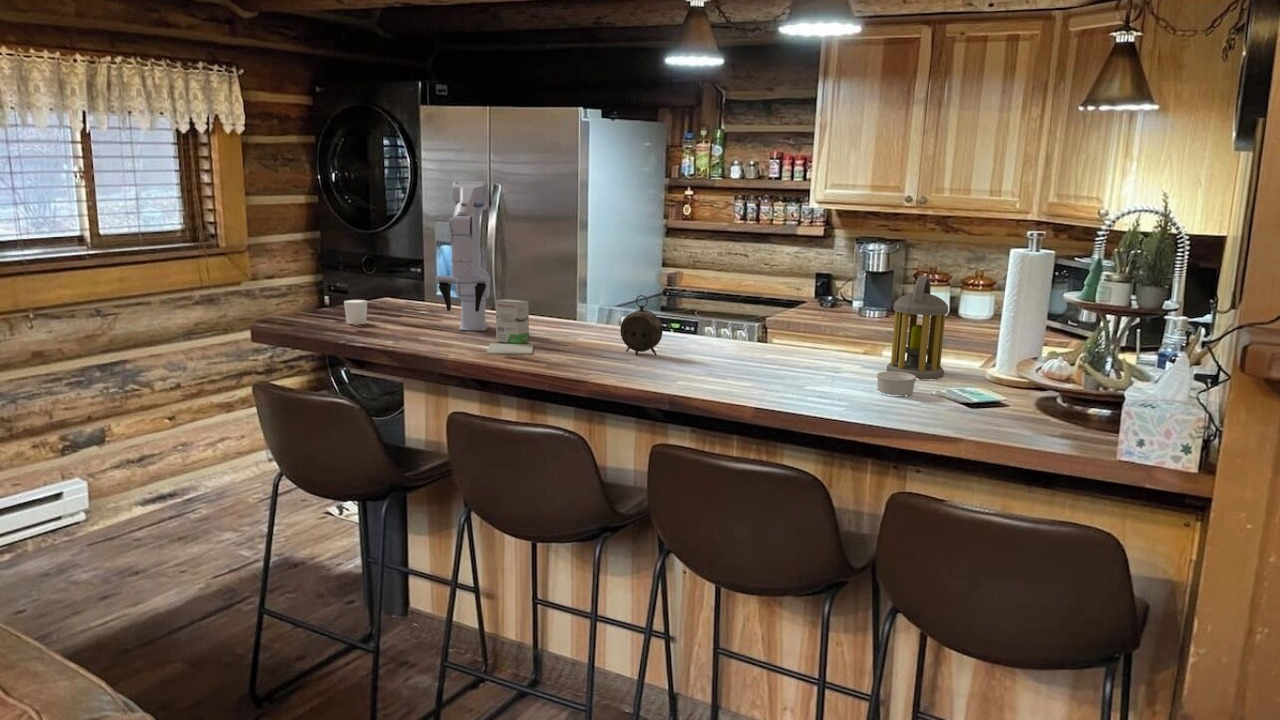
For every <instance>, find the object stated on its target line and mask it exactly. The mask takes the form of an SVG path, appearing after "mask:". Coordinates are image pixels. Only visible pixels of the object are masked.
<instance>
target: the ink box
mask: <svg viewBox="0 0 1280 720" xmlns="http://www.w3.org/2000/svg"><path fill="white" fill-rule="evenodd" d="M529 318H530V315H529V301H528V300H527V301H526V300H517V299H516V300H515V299H509V298H507V299H496V300H495V323H496V324H495V327H496V328H495V329H496V330H495V331H496V332H495V333H496V334H495V335H496V336H495V337H496V339H495V340H496V342H497V343H498V342H499V343H505V344H528V343H530V329H529V327H530V326H529V325H530V322H529Z"/></svg>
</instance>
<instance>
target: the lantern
mask: <svg viewBox="0 0 1280 720" xmlns="http://www.w3.org/2000/svg"><path fill="white" fill-rule="evenodd" d="M931 289H932V288H931V280H930V277H928V276H923V275H922V276H921V275H920V276H918V278H917V280H916V282H915V285H914V290H913V292H911V293H907V294H904V295H902V296H901V297H899V298H897V300H895V301H894V303H893V310H894V321H893V322H894V323H893V334H892V343H891V345H892V347H891V358H890V359H891V360H890V362H889V363H888V364H887V366H886V371H887V372H904V373H909V374H912V375H914V376H916V378H918V379H937V380H939V379H938V378H941V379H943V378H944V373H945V370H944V368H943V367H942V366H941V365H942V364H941V363H942V356H943V355H942V352H943V344H944V342H943V341H944V333H945V322H946V315H947V314H949V305H948V304H947V303H946V302H945V301H944V300H943V299H942V298H940V297H939V296H937V295H935V294H931V292H932V291H931ZM918 315H919V316H922V320H921V321H922V324H920V323H919V324H918ZM909 316H910V317H909ZM908 328H909V329H908ZM907 338H908V339H907ZM907 340H908V341H907ZM886 371H885V372H886ZM942 377H943V378H942Z"/></svg>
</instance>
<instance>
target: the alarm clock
mask: <svg viewBox="0 0 1280 720" xmlns="http://www.w3.org/2000/svg"><path fill="white" fill-rule="evenodd" d="M640 297H643V298H645V300H646V303H645V305H643V304H641V305H639V303H638V299H639V298H640ZM648 302H649V301H648V298H647V296H645V295H643V294H640V295H638V296H636V298H635V304H636V306H637V307H639V309H638V310H637V309H636V310H635V311H633V312H631V313H629V314H627V315H626V316H625V317H624V318H623V320H622V321H621V324H620V337H621V339H622V341H623V343H624V345H626V347H627V348H626V350H625V352H626V353H627V352H629V350H632V351H635V356H638V355H639V352H641V353H643V352H647V351H649V350H651V352H652V353H653V355H654V356H657V352H656V350H655V347H657V345H659V343H660V341H661V339H662V336H663V325H662V322H661V320H660V318H659V317H658V316H657V315H656V314H655V313H654V312H652V311H650V310H647V309H644V308H645V307H646V306H647V305H648Z"/></svg>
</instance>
